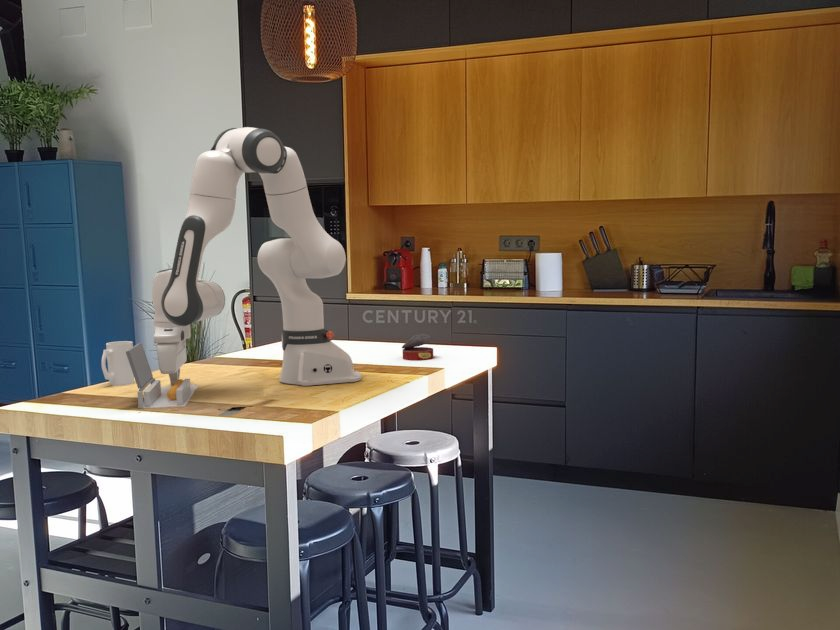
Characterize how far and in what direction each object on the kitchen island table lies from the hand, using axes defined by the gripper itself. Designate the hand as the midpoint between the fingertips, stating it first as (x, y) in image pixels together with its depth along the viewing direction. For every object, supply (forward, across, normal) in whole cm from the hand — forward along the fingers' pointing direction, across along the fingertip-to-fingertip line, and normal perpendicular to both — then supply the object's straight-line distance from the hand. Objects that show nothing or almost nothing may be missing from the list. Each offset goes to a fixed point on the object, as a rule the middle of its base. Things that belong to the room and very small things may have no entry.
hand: (175, 385), depth 204 cm
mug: (+2, -13, -17) cm, 21 cm away
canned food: (+2, -42, +69) cm, 80 cm away
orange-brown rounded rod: (+1, +8, 0) cm, 8 cm away
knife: (+3, +22, +17) cm, 28 cm away
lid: (-7, +12, -5) cm, 15 cm away
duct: (+2, +7, 0) cm, 8 cm away
